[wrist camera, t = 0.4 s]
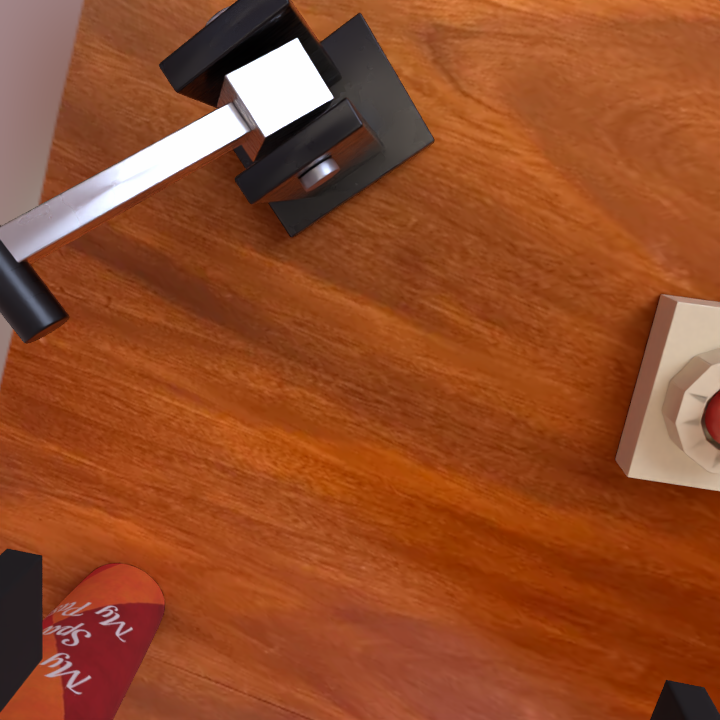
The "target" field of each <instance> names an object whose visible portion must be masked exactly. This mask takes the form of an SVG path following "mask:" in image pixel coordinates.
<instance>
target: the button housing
mask: <svg viewBox="0 0 720 720" xmlns="http://www.w3.org/2000/svg"><path fill="white" fill-rule="evenodd" d="M719 391H720V302H715V301H708V300H700V299H693V298H686V297H678V296H671V295H664V294H661V296H660V299H659V303H658V306H657V310H656V314H655V317H654V321H653V325H652V328H651V332H650V335H649V339H648V343H647V346H646V350H645V353H644V357H643V361H642V364H641V368H640V372H639V375H638V379H637V382H636V386H635V390H634V393H633V397H632V400H631V404H630V408H629V411H628V415H627V419H626V422H625V426H624V429H623V433H622V437H621V440H620V444H619V447H618V451H617V455H616V458H615V460H616V462H617V463H618V464H619V466H620V467H621V469H622V470H623V471H624V473H625V474H626V476H627V477H631V478H637V479H644V480H650V481H657V482H663V483H670V484H676V485H683V486H689V487H696V488H702V489H709V490H715V491H720V444H719V443H718V442H716V441H715V440H714V439H713V438H712V437H711V435H710V434H709V432H708V431H707V428H706V424H705V413H706V409H707V407H708V405H709V403H710V401H711V400H712V398H713V397H714V396H715V395H716V394H717V393H718V392H719Z"/></svg>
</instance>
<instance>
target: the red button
mask: <svg viewBox="0 0 720 720" xmlns="http://www.w3.org/2000/svg"><path fill="white" fill-rule="evenodd" d="M705 424H706V428H707V431H708V432H709V434H710V435H711V437H712V438H713V439H714V440H715V441H716V442H718V443H719V444H720V391H719V392H718V393H717V394H716V395H715V396H714V397H713V398H712V400H711V401H710V403H709V405H708V407H707V409H706V413H705Z"/></svg>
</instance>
